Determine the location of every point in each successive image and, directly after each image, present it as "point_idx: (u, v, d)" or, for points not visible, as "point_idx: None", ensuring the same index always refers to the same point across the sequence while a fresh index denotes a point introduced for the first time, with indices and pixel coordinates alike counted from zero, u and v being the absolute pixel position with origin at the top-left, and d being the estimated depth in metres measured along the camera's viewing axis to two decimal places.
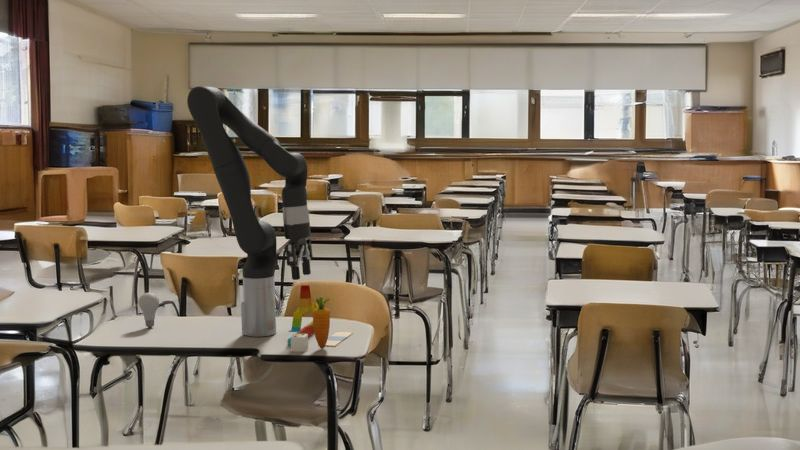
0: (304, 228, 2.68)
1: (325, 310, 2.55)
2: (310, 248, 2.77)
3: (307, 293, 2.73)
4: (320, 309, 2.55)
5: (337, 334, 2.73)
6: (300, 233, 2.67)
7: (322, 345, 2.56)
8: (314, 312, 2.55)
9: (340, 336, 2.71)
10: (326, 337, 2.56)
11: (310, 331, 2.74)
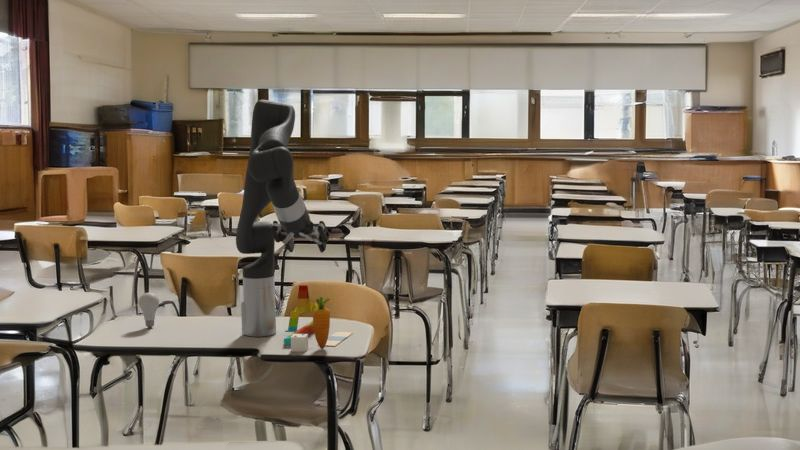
0: (281, 223, 2.32)
1: (325, 310, 2.55)
2: (321, 235, 2.37)
3: (305, 293, 2.72)
4: (320, 309, 2.55)
5: (337, 334, 2.73)
6: (280, 224, 2.34)
7: (322, 345, 2.56)
8: (314, 312, 2.55)
9: (340, 336, 2.71)
10: (326, 337, 2.56)
11: (308, 331, 2.74)
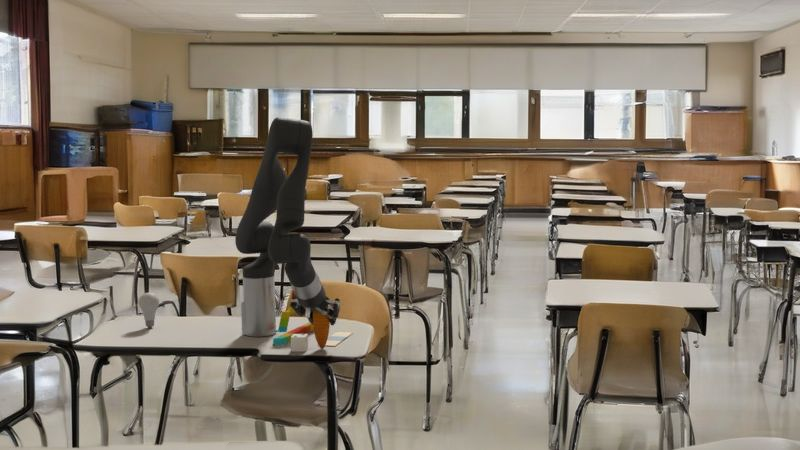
0: (299, 300, 2.45)
1: None
2: (334, 311, 2.50)
3: None
4: None
5: (337, 334, 2.73)
6: (297, 299, 2.47)
7: (322, 345, 2.56)
8: (314, 312, 2.55)
9: (340, 336, 2.71)
10: (326, 337, 2.56)
11: (302, 331, 2.74)
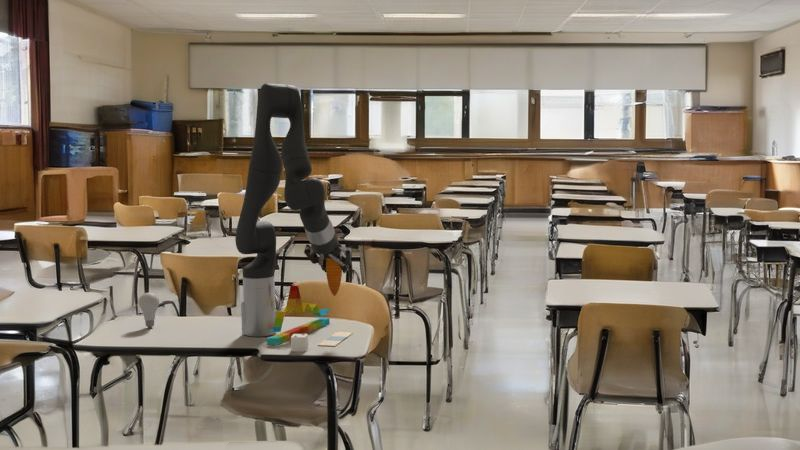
0: (313, 246, 2.55)
1: None
2: (346, 258, 2.60)
3: (295, 293, 2.72)
4: None
5: (337, 334, 2.73)
6: (311, 246, 2.57)
7: (334, 292, 2.66)
8: (327, 260, 2.64)
9: (340, 336, 2.71)
10: (338, 284, 2.65)
11: (298, 332, 2.74)
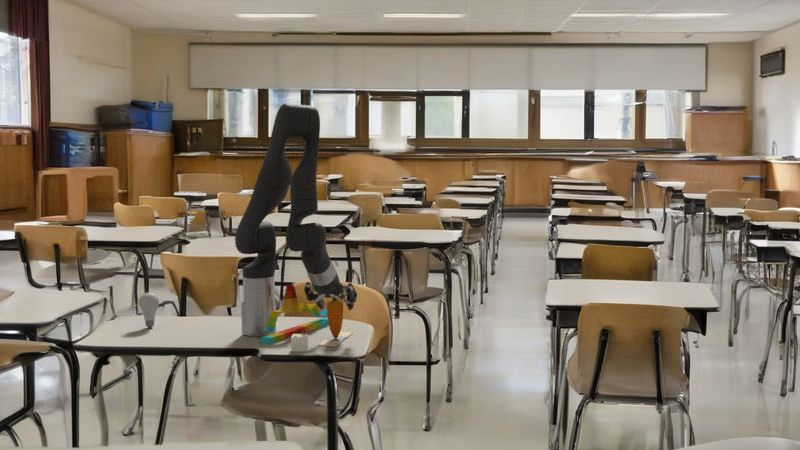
0: (314, 286, 2.56)
1: (339, 301, 2.66)
2: (349, 296, 2.61)
3: (291, 293, 2.72)
4: (334, 300, 2.66)
5: None
6: (313, 286, 2.58)
7: (336, 335, 2.67)
8: (328, 303, 2.65)
9: (340, 336, 2.71)
10: (339, 327, 2.67)
11: (294, 331, 2.74)
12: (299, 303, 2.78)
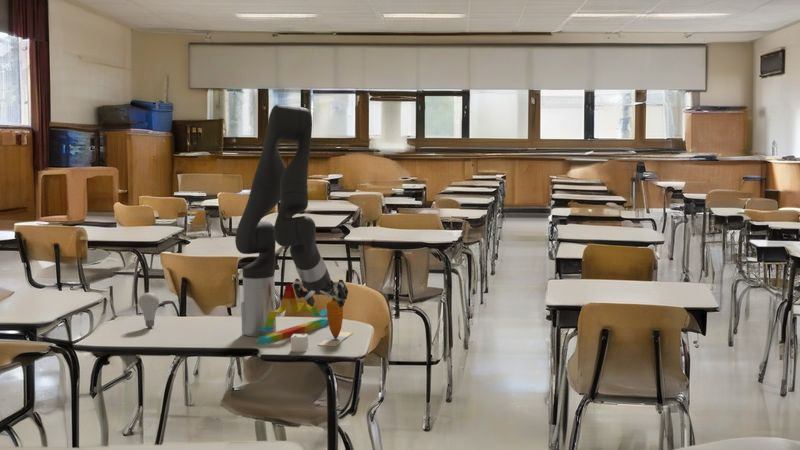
0: (304, 283, 2.48)
1: None
2: (340, 293, 2.52)
3: (289, 293, 2.72)
4: (334, 300, 2.66)
5: None
6: (302, 283, 2.50)
7: (336, 335, 2.67)
8: (328, 303, 2.65)
9: (340, 336, 2.71)
10: (339, 327, 2.67)
11: (293, 331, 2.74)
12: (298, 303, 2.78)
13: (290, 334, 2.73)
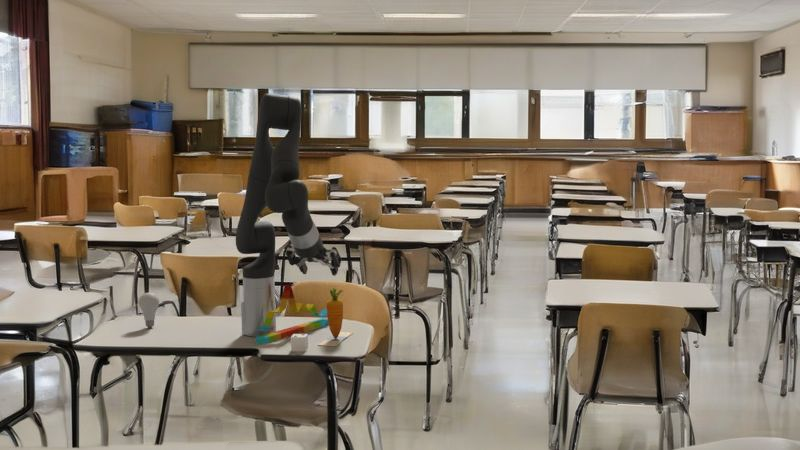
0: (296, 250, 2.43)
1: (338, 301, 2.66)
2: (333, 260, 2.48)
3: (288, 293, 2.72)
4: (334, 300, 2.66)
5: None
6: (294, 249, 2.45)
7: (336, 335, 2.67)
8: (328, 303, 2.65)
9: (340, 336, 2.71)
10: (339, 327, 2.67)
11: (291, 331, 2.74)
12: (297, 303, 2.78)
13: (289, 334, 2.73)
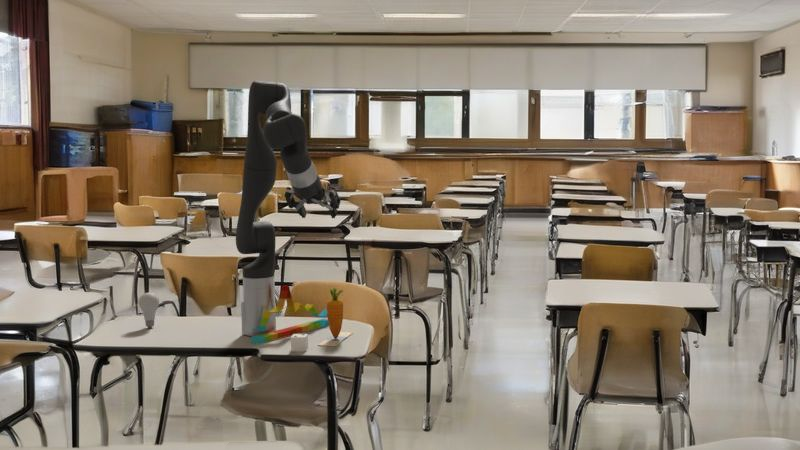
0: (295, 189, 2.43)
1: (339, 301, 2.66)
2: (332, 201, 2.47)
3: (285, 293, 2.73)
4: (334, 300, 2.66)
5: None
6: (293, 190, 2.45)
7: (336, 335, 2.67)
8: (328, 303, 2.66)
9: (340, 336, 2.71)
10: (339, 327, 2.67)
11: (289, 331, 2.74)
12: (296, 303, 2.78)
13: (286, 334, 2.73)
